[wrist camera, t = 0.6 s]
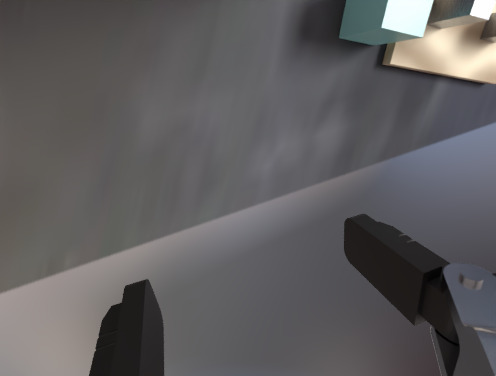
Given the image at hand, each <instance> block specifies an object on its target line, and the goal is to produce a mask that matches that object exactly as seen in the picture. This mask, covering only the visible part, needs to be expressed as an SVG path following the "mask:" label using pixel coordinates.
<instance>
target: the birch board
mask: <svg viewBox="0 0 496 376" xmlns="http://www.w3.org/2000/svg"><path fill="white" fill-rule="evenodd" d="M491 13H496V1H495V4H494V7H493V10H492V12H491ZM485 23H486V21H482V22H477V23H471V24H466V25H460V26H455V27H450V28H444V29H440V28H436V27H432V26H428V25H426V27H425V31H424V34H423V37H422V38H416V39H410V40H405V41H399V42H393V43H388V44H387V48H386V52H385V55H384V59H383V63H382V65H388V66H393V67H399V68H404V69H409V70H415V71H420V72H425V73H431V74H436V75H442V76H447V77H452V78H458V79H463V80H469V81H474V82H479V83H485V84H496V43H493V42H489V41H486V40H482V39H480V37H481V34H482V31H483V28H484V26H485Z"/></svg>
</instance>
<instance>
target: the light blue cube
mask: <svg viewBox="0 0 496 376" xmlns="http://www.w3.org/2000/svg"><path fill="white" fill-rule="evenodd" d="M432 4H433V0H346V4H345V9H344V14H343V19H342V24H341V29H340V34H339V38H341V39H346V40H350V41H355V42H360V43H365V44H369V45H374V46H375V45H381V44H387V43H393V42H399V41H405V40H410V39H416V38H422V37H423V34H424V31H425V27H426V24H427V21H428V17H429V14H430V10H431V7H432Z"/></svg>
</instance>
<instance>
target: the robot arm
mask: <svg viewBox="0 0 496 376" xmlns="http://www.w3.org/2000/svg"><path fill="white" fill-rule="evenodd" d="M344 251H345V255H346V257H347V259H348V261H349V262H350V263H351V264H352V265H353V266H354V267H355V268H356V269H357V270H358V271H359V272H360V273H361V274H362V275H363V276H364V277H365V278H366V279H367V280H368V281H369V282H370V283H371V284H372V285H373V286H374V287H375V288H376V289H377V290H378V291H379V292H380V293H381V294H382V295H383V296H384V297H385V298H386V299H387V300H389V302H391V304H392V305H394V306H395V307H396V308H397V309H398V310H399V311H400V312H401V313H402V314H403V315H404V316H405V317H406V318H407V319H408V320H409V321H410V322H411V323H412V324H413V325H414V326H415V325H417V324H419V323H422V322H424V321H427V322H429V323H430V324H431V330H430V331H431V336H432V340H433V344H434V347H435V352H436V356H437V360H438V364H439V368H440V371H441V375H442V376H496V273H495V274H491V273H490V272H488V271H487V270H485V269H483V268H480V267H478V266H474V265H471V264H466V263H452V264H450V263H449V262H447V261H446V260H444V259H443V258H441V257H439V256H438V255H436V254H435V253H433V252H432V251H430V250H429V249H427V248H425V247H424V246H422V245H421V244H419V243H418V242H416V241H413V239H411V238H410V237H408V236H406V235H404V233H402V232H401V231H399V230H397V229H396V228H394V227H393V226H390V225H387V224H384V223H381V222H376V221H375V220H373V219H372V218H370V217H369V216H367V215H366V214H360V215H357V216H354V217H351V218H347V219H346V220H345V223H344ZM89 376H164V327H163V319H162V314H161V310H160V308H159V305H158V302H157V299H156V297H155V294H154V292H153V289H152V286H151V284H150V282H149V280H148V279H146V280H143V281H139V282H136V283H133V284H130V285H126V286H125V288H124V293H123V299H122V303H120V304H116V305H113V306H111V308H110V309H109V311H108V312H107V314H106V315H105V317H104V318H103V320H102V323H101V327H100V332H99V338H98V340H97V344H96V351H95V353H94V357H93V361H92V365H91V370H90V374H89Z"/></svg>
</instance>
